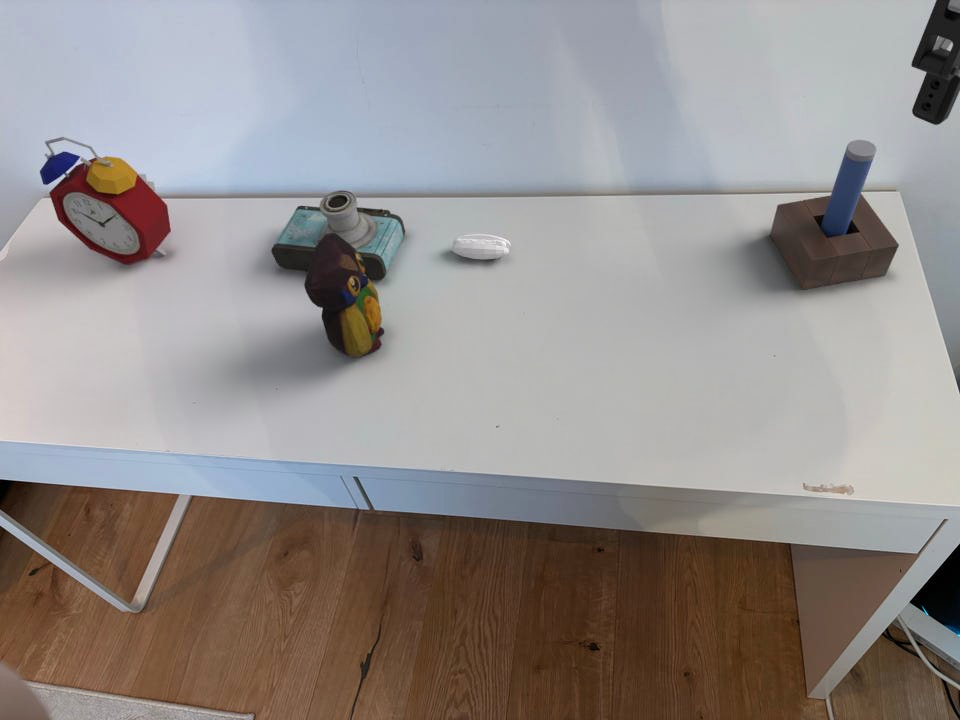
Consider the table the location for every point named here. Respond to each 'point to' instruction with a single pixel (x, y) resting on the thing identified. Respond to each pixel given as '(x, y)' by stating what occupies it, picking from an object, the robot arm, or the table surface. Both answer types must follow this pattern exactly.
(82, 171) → the alarm clock
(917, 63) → the robot arm
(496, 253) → the white oval lump
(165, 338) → the table surface
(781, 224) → the holder
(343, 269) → the figurine
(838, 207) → the handle
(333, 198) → the camera
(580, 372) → the table surface
